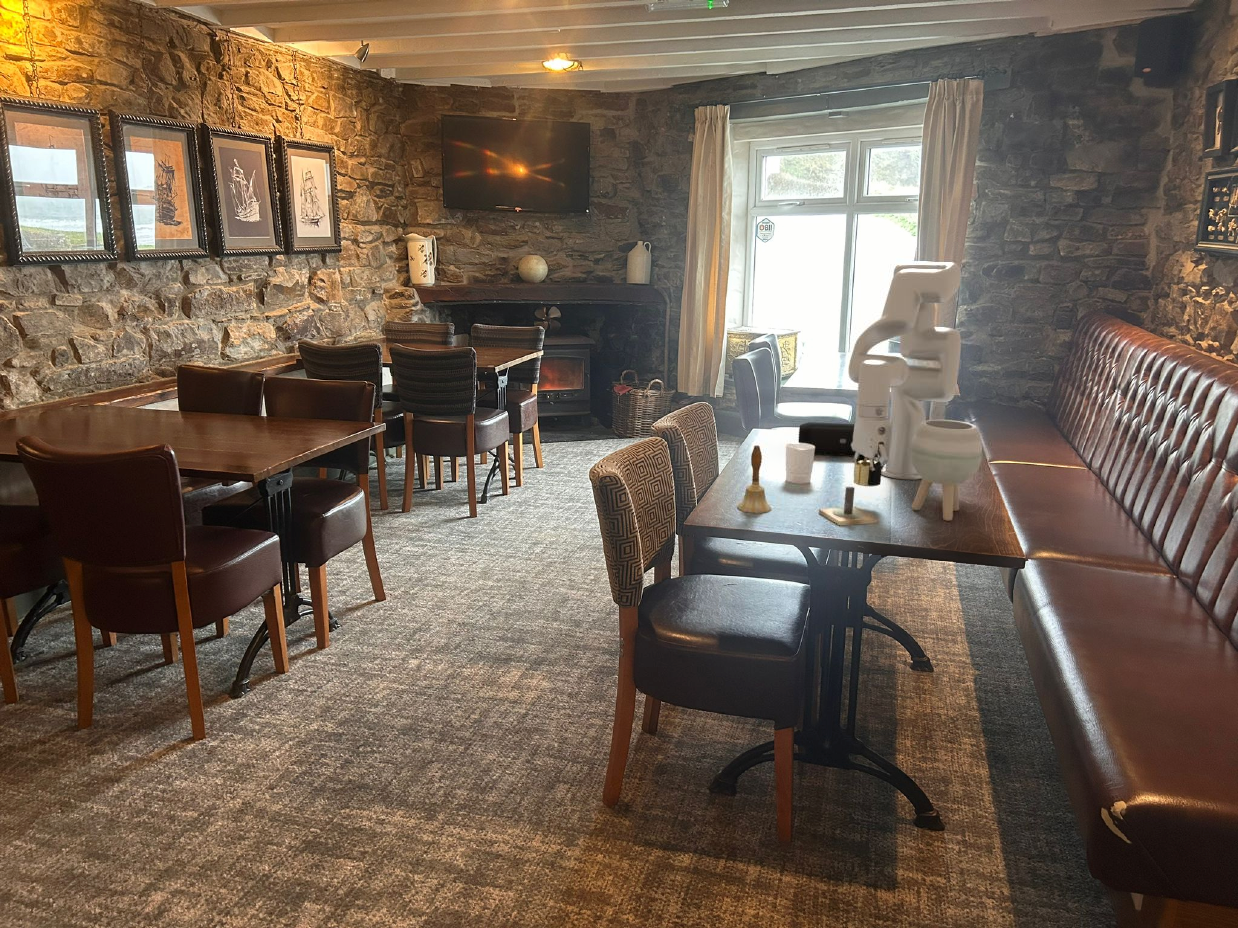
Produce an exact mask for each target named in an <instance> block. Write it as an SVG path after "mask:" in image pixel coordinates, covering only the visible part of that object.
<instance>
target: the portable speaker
mask: <svg viewBox="0 0 1238 928" xmlns="http://www.w3.org/2000/svg"><path fill="white" fill-rule="evenodd" d="M854 425H855V423H839V422H838V423H837V422H833V423H832V422H817V421H815V422H812V421H810V422H809V421H808V422H804V423H802V424H799V430H798V442H797V443H806V444H811V445H814V446H815V452H814V455H825V454H826V456H827V455H829V456H830V455H831V456H850V457H854V454H853V449H852V447H851V443H852V442H853V433H854ZM876 456H877V455H875V457H876Z"/></svg>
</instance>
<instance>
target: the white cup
mask: <svg viewBox="0 0 1238 928" xmlns="http://www.w3.org/2000/svg"><path fill="white" fill-rule="evenodd" d="M814 452H815V446H814V445H811V444H806V443H798V442H791V443H790V442H789V443H786V445H785V481H787V482H788V483H792V484H799V485H802V484H804V485H805V484H809V483H811V479H812V473H813V467H814V461H815V454H814Z"/></svg>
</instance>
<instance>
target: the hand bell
mask: <svg viewBox="0 0 1238 928" xmlns="http://www.w3.org/2000/svg"><path fill="white" fill-rule="evenodd" d="M762 456H763V455H762V451H761V447H760V445H754V446H753V449H752V453H751V455H750V462H751V468H752V478H751V481H752V483H751V484H750V485H748V486H746V488H745V493H744V497H743V498H742V500H741V502H739V503H738V505H737V506H736V507H737V509H738V510H739V511H741V512H745V513H749V514H765V513H769V512H771V511H772V507H771V505H770V504H769V503H768V501H767V499H766V493H765V488H764V486H762V485H761V484H760V469H761V467H762V466H761V465H762V461H763V460H762V459H763V457H762Z"/></svg>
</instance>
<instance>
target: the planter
mask: <svg viewBox="0 0 1238 928" xmlns="http://www.w3.org/2000/svg"><path fill="white" fill-rule="evenodd" d="M982 442H983V441H982V438H981V433H980V431H979V428H978V426H976V425H975V424H973V423H969V422H967V421H961V420H952V419H927V420H926V419H925V421H923V422H922V423H921V424H920V425H919V427H918V429H917V431H916V433H915V435H914V438H913V441H912V445H911V453H910V455H911V462H912V465H913V467H914V469H915V470H916V472H917V473H918V474H919V475H920V476H921V482H920V484H919V487H918V490H917V492H916V495H915V496H914V499H913V502H912V505H911V508H912V510H914V511H920V510H921V508H922V507H923V505H924V502H925V500H926V498H927V496H928V493H929V491H930V489H931V487H932V485H933V484H937V485H941V486H942V487H941V490H942V491H941V493H942V495H941V497H942V502H941V503H942V518H943V520H944V521H946V522H950V521H952V520H953V516H954V512H957V511H959V510H960V499H959V485H963V484H965V482H966V481H968V480H969V479H970V478H971V477H972V476H974V475H975V474H976V473H977V471H978V469H980V468H979V467H980V465H981V462H982V458H983V443H982Z"/></svg>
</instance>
